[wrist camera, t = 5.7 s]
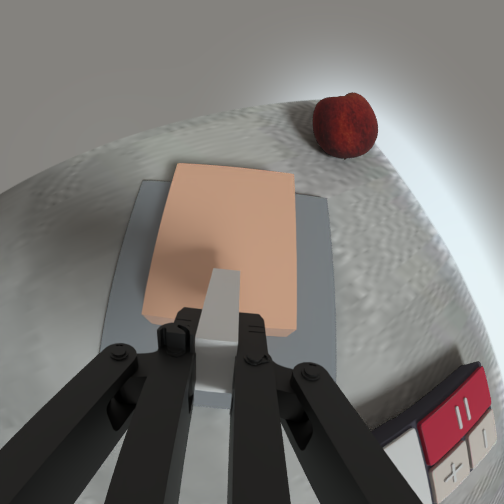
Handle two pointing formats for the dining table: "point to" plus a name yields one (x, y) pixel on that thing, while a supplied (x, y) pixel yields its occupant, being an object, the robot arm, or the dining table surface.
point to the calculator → (442, 434)
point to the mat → (279, 348)
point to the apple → (345, 125)
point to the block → (227, 243)
